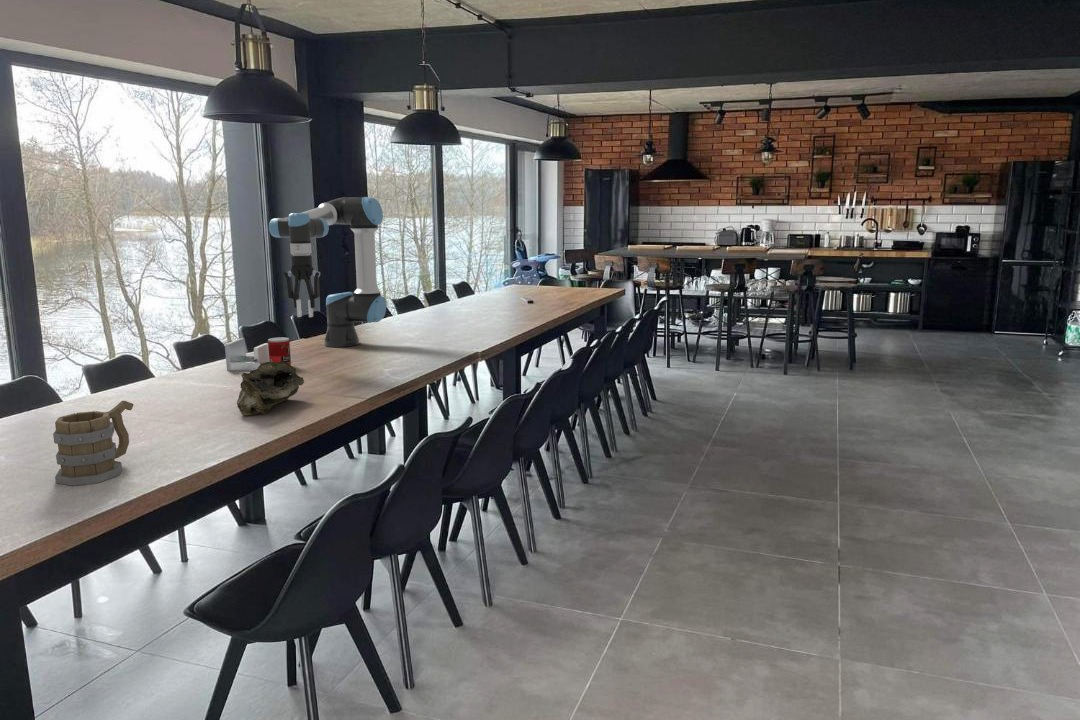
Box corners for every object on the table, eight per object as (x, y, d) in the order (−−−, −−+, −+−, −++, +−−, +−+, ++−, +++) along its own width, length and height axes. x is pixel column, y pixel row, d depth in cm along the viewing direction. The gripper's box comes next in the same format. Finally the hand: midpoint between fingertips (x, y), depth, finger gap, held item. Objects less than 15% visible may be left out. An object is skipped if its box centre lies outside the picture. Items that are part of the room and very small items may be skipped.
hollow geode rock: (294, 409, 251) (263, 375, 252) (318, 384, 248) (287, 350, 248) (243, 431, 224) (209, 392, 225) (269, 403, 221) (235, 364, 221)
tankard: (84, 488, 168) (76, 422, 165) (44, 481, 172) (35, 416, 169) (159, 461, 186) (153, 401, 183) (121, 455, 190) (114, 396, 187)
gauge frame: (242, 363, 304) (240, 338, 303) (274, 363, 304) (273, 338, 302) (226, 370, 291) (224, 344, 289) (260, 370, 290) (258, 344, 288)
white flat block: (266, 363, 302) (264, 343, 301) (270, 363, 302) (268, 343, 301) (252, 370, 289) (250, 349, 288) (256, 370, 289) (254, 349, 288)
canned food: (285, 369, 292) (283, 340, 290) (266, 368, 294) (263, 340, 292) (294, 365, 300) (293, 337, 298) (275, 364, 301) (273, 337, 299)
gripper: (275, 255, 285) (279, 318, 289) (320, 255, 284) (323, 318, 288) (283, 254, 292) (287, 315, 297) (326, 254, 291) (330, 315, 296)
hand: (305, 316), depth 292 cm, fingers open, 4 cm apart
